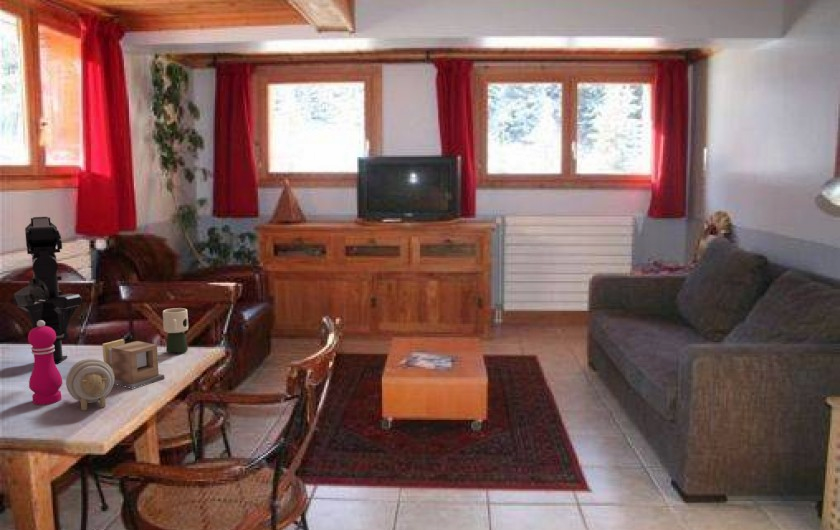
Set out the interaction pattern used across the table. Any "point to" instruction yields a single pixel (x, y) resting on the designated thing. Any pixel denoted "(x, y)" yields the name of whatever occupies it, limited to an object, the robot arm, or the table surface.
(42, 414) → the table surface
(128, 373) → the wooden drawer box
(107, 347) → the tan drawer
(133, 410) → the table surface
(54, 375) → the pepper mill
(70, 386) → the toy sheep
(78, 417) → the table surface
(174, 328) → the character mug
